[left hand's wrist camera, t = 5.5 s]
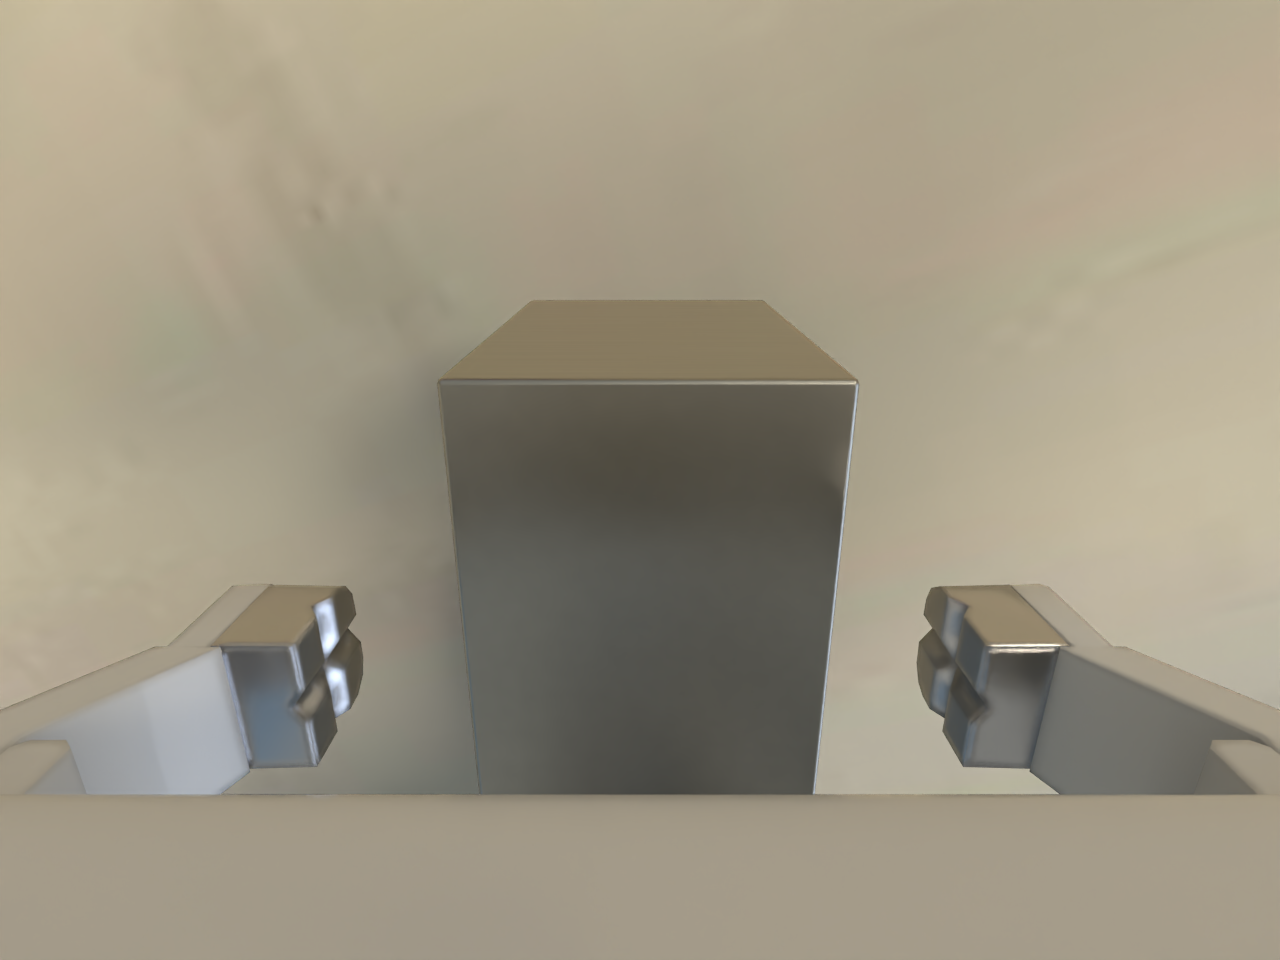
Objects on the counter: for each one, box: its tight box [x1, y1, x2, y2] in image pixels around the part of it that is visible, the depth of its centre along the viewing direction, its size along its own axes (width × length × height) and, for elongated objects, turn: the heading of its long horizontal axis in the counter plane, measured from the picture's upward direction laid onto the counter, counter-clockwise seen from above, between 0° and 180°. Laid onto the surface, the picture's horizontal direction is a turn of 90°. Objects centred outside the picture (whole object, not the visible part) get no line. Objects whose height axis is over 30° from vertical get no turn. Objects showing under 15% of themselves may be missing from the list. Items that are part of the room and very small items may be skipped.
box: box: [437, 300, 859, 794], centre depth 18 cm, size 25×6×9 cm, turn 0°
